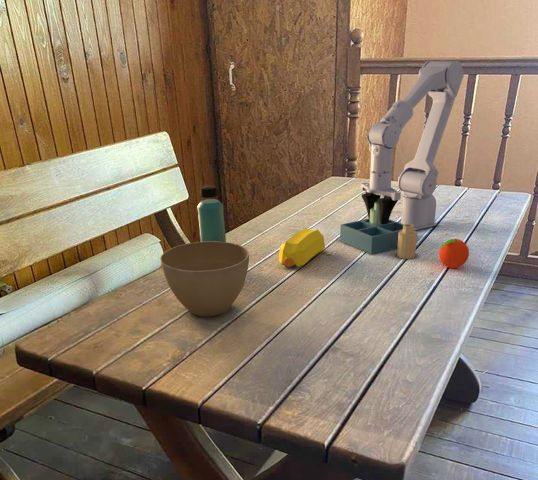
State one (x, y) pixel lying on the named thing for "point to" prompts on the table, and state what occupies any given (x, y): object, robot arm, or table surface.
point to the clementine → (453, 253)
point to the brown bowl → (206, 275)
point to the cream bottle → (407, 242)
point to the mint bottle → (375, 214)
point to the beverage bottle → (211, 216)
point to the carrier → (371, 235)
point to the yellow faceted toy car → (301, 247)
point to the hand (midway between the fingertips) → (378, 221)
